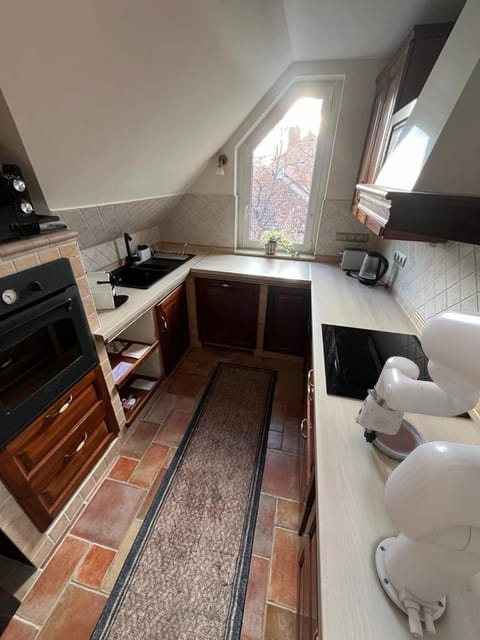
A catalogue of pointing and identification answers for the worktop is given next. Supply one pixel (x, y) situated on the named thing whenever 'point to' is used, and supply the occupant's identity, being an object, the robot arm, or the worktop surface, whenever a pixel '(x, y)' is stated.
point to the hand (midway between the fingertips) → (368, 438)
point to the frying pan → (400, 441)
